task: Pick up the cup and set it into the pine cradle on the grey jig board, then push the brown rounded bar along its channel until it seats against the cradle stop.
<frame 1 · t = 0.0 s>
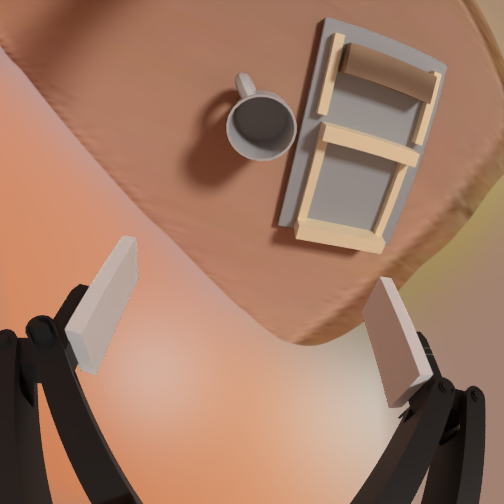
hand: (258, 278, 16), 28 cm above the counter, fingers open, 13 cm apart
jig: (364, 139, 38), on the counter
cup: (257, 106, 36), on the counter
brown rounded bar: (385, 72, 31), point 1 cm above the counter, touching jig
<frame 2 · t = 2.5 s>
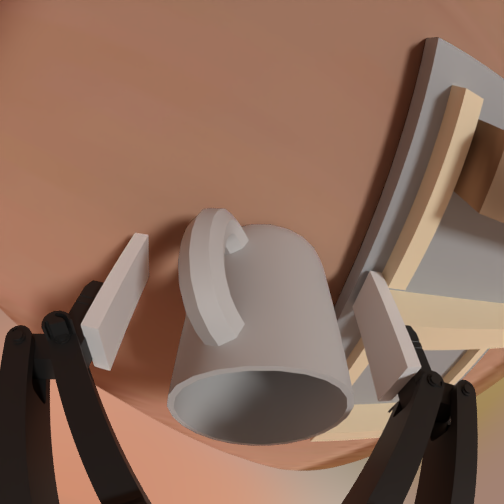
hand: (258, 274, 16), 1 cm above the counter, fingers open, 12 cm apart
jig: (449, 298, 19), on the counter
cup: (251, 254, 17), on the counter
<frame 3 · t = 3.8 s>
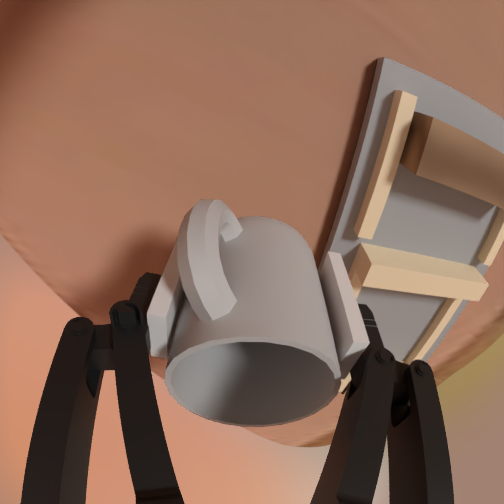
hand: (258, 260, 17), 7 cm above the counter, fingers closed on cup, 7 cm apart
jig: (416, 257, 25), on the counter
cup: (245, 245, 19), point 6 cm above the counter, touching gripper
brown rounded bar: (464, 160, 19), point 1 cm above the counter, touching jig
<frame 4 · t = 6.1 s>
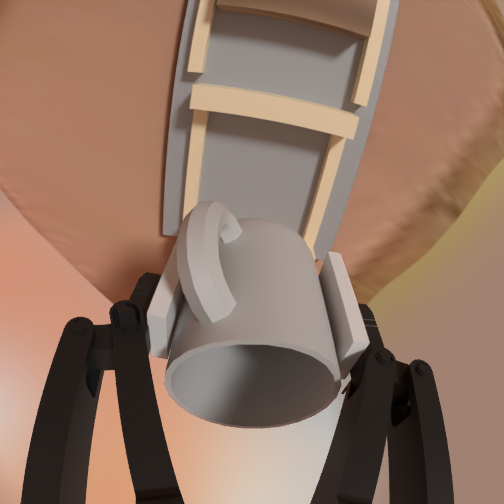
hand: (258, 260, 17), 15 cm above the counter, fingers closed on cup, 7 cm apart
jig: (273, 103, 26), on the counter
cup: (245, 246, 18), point 13 cm above the counter, touching gripper
brown rounded bar: (295, 2, 19), point 1 cm above the counter, touching jig
when the fingers open (3 cm above the counter, at t = 8.4 s): cup stays where it is, resting on jig.
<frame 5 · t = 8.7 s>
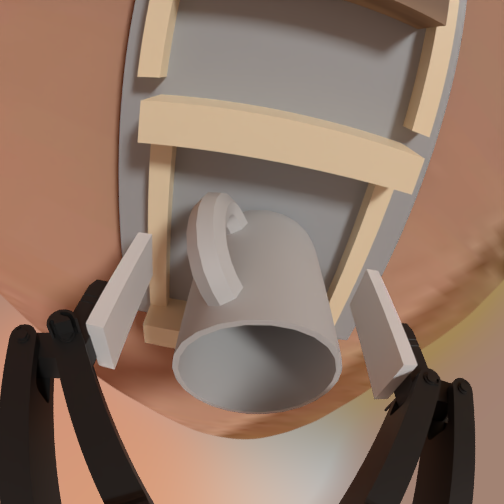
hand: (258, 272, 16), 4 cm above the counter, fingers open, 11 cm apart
jig: (281, 125, 16), on the counter
cup: (249, 238, 19), point 1 cm above the counter, touching jig
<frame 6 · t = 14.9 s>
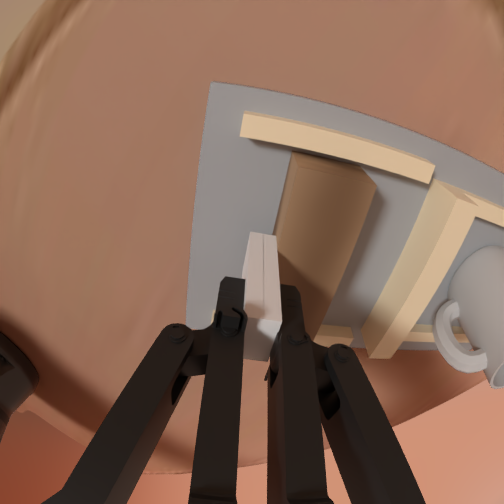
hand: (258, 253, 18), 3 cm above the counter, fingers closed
jig: (401, 257, 21), on the counter
cup: (465, 282, 21), point 1 cm above the counter, touching jig
brown rounded bar: (301, 247, 19), point 1 cm above the counter
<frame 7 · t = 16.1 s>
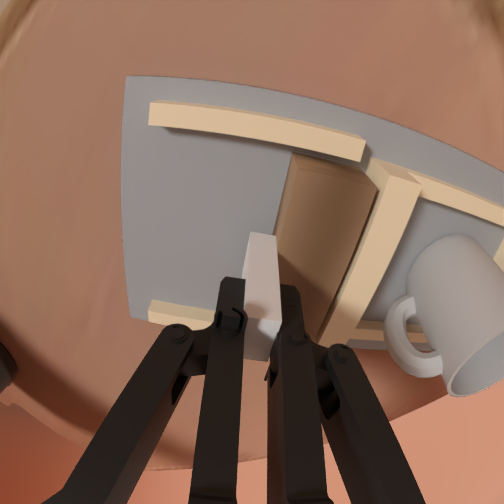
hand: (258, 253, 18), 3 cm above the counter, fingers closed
jig: (346, 247, 21), on the counter
cup: (427, 275, 21), point 1 cm above the counter, touching jig
brown rounded bar: (300, 249, 19), point 1 cm above the counter, touching gripper, jig
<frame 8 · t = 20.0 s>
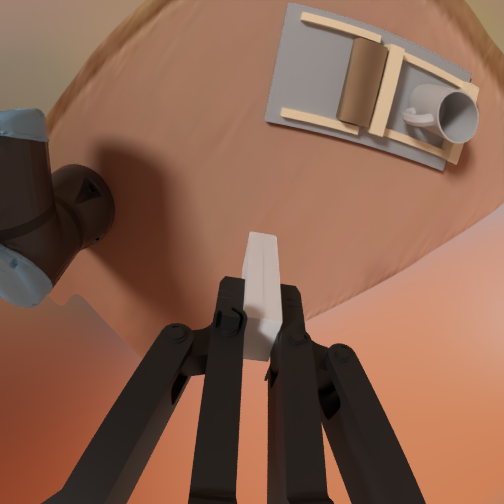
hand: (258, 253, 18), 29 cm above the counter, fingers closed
jig: (377, 87, 37), on the counter
cup: (419, 107, 37), point 1 cm above the counter, touching jig
brown rounded bar: (358, 81, 36), point 1 cm above the counter, touching jig
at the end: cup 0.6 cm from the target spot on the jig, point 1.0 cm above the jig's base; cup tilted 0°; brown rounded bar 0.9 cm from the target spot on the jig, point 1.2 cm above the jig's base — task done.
